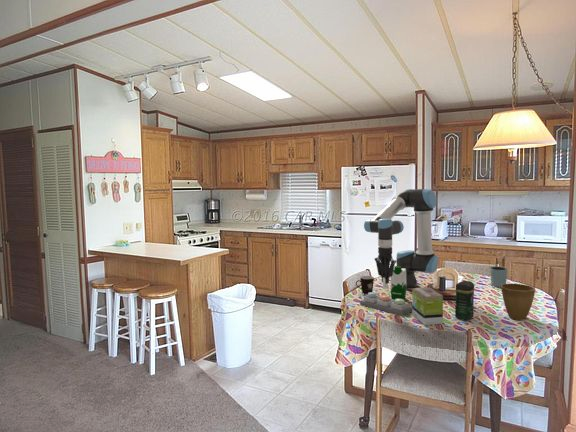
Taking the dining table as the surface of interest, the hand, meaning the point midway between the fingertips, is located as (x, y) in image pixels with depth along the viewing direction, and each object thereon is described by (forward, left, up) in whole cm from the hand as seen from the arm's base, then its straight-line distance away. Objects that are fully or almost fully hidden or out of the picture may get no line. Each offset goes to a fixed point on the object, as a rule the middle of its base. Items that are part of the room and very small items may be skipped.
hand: (385, 288), depth 220 cm
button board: (0, 0, -11) cm, 11 cm away
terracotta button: (0, 0, -7) cm, 7 cm away
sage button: (-5, +7, -7) cm, 11 cm away
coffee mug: (+3, -30, -11) cm, 32 cm away
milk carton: (-13, -14, -11) cm, 22 cm away
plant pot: (-59, +27, -11) cm, 66 cm away
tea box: (-14, +22, -11) cm, 28 cm away
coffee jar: (-34, +22, -11) cm, 42 cm away
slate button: (+5, -7, -7) cm, 11 cm away
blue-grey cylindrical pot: (-86, -29, -11) cm, 92 cm away
